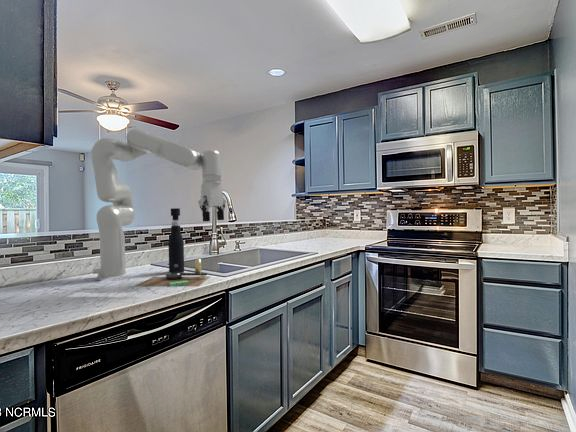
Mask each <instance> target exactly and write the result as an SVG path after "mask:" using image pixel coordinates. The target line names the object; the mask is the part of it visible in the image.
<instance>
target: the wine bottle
mask: <svg viewBox="0 0 576 432" xmlns="http://www.w3.org/2000/svg"><path fill="white" fill-rule="evenodd" d="M170 216H171V217H172V222H171V226H170V227H171V228H170V229H171V230H170V231H171V232H170V235H169V239H168V273H169V272H182V273H185V251H184V250H185V249H184V245H185V244H184V238H183V235H182V233H181V226H180V225H181V224H180V220H179V217H180V216H181V209H180V208H175V207H174V208H170Z"/></svg>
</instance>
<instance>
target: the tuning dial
mask: <svg viewBox="0 0 576 432" xmlns="http://www.w3.org/2000/svg"><path fill="white" fill-rule="evenodd" d="M207 275H208V272H202V259H201V258H198V259H197V258H195V259H194V272H183V273H182V272H169V271H168V272H166V273H165V277H166V279H167V280H176V279H180V278H182V277H187V276H207Z"/></svg>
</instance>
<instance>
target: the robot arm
mask: <svg viewBox="0 0 576 432" xmlns="http://www.w3.org/2000/svg"><path fill="white" fill-rule="evenodd" d="M125 137H126V142H125V141H121V140H119V139H116V138H113V137H102V138H100V139H99V140H96V142H95V143H94V144H93V146H92V148H91V152H90V156H91V157H90V159H91V164H92V167H93V173H94V181H95V182H94V183H95V188H96V194H97V197H98V199H99V200H100V201H102V202H104V203H112V204H111V205H110V204H108V205H105V206H102V207H101V208H99V209H98V210H97V213H96V223H97V224H96V225H97V228H98V235H99V236H98V237H99V257H100V261H99V262H100V264H99V265H100V267H99V268H93V270H92V271H91V273H92V274H93V275H97V276H96V280H97V281H103V280H106V279H109V278H115V277H120V276H124V275H126V274H127V273H126V247H125V246H126V241H125V239H126V238H125V232H124V229H123V227H127V226H129V225H131V224H132V223H133V222H134V220H135V206H134V200H133V193H132V189H131V188H130V186H129V185H128V184H127V183H125V182H122V181H119V179H118V171H117V168H116V166H115V164H114V162H113V160H117V161H121V162H130V161H133V160H136V159H137V158H140V157H143V156H145V155H147V154H148V155H151V156H154V157H156V158H158V159H162V160H163V159H164V160H166V161H169V162H172V163H174V164H177V165H179V166H182V167H185V168H188V169H190V170H196V171H197V170H201V172H202V177H201V178H202V183H201V186H200V199H199V200H198V205H199V208H200V211H201V213H202V214H201V215H202V222H210V221H211V212H210V208H216V217H217V218H216V219H217V221H224V220H225V213H224V212H225V208H226V203H227V201H226V199H225V198H224V194H223V186H222V179H221V177H222V176H221V174H222V173H221V156H220V155H221V153H220V152H219V151H218V150H215V149H206V150H205V149H204V150H203V151H202V152H198V151H195V150H194V149H191V148H189V147H186V146H183V145H180V144H178V143H176V142H173V141H171V140H169V139H167V138H165V137H162V136H159V135H157V134H154V133H151V132H149V131H146V130H144V129H140V128H132V129H130V130H128V132H127V133H126V136H125Z"/></svg>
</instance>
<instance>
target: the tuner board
mask: <svg viewBox="0 0 576 432" xmlns="http://www.w3.org/2000/svg"><path fill="white" fill-rule="evenodd" d="M209 278H211V276H207V275H199V276H182V278H180V279H176V280H167V279H166V276H153V277H151V278H148V279H146V280H144V281H143V282H140V283H138V284H136V285H135V287H200V286H201V285H202V284H204V282H206V281H207V280H208V279H209Z"/></svg>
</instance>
